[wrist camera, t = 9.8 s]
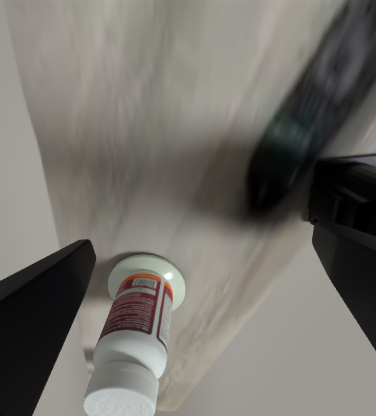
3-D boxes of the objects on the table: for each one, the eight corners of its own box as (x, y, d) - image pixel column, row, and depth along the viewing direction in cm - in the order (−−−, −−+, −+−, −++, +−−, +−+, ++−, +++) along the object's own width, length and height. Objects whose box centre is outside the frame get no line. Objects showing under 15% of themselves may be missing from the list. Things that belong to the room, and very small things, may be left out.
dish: (181, 249, 25) (180, 255, 24) (189, 307, 29) (188, 315, 28) (102, 254, 26) (98, 261, 25) (120, 311, 29) (117, 318, 28)
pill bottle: (110, 288, 26) (56, 407, 16) (145, 258, 24) (109, 372, 14) (149, 315, 28) (123, 439, 18) (185, 290, 26) (179, 412, 16)
